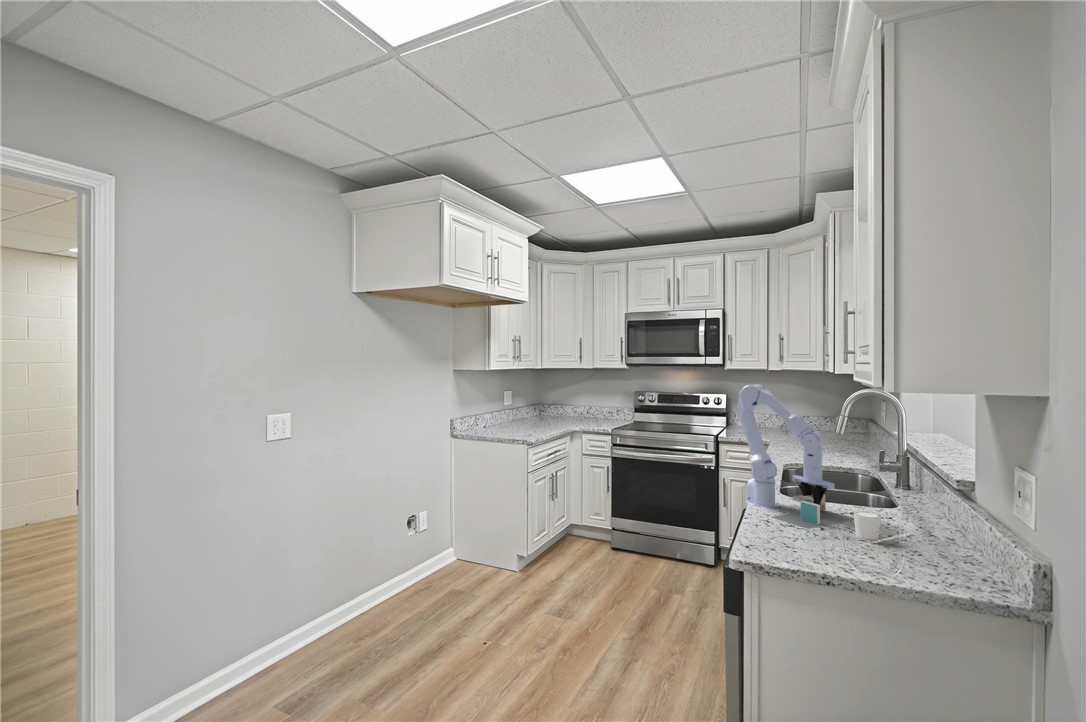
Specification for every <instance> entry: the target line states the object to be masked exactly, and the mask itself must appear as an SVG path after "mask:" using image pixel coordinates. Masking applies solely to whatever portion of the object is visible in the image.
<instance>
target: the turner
mask: <svg viewBox="0 0 1086 722" xmlns="http://www.w3.org/2000/svg"><path fill="white" fill-rule="evenodd" d="M792 501H795V502H798V503H801V501H806V502H810V503H813V502H814V499H813V494H812V495H808V496H803V495H801V494H800V495H794V496H792ZM821 510H826V494H824V495H823V497H822V500H821V503H820V511H821ZM826 511H827V510H826Z"/></svg>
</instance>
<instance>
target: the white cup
mask: <svg viewBox="0 0 1086 722" xmlns="http://www.w3.org/2000/svg"><path fill="white" fill-rule="evenodd" d="M881 517H882V516H881V515H880V514H877V513H873V512H870V511H869V512H867V511H855V512H853V518H854V519H853V520H854V530H855V531H854V532H855V536H856V537H858V538H861V539H866V540H872V542H879V538H880V537H879V536H880V530H881V529H880V528H881V520H882V519H881Z"/></svg>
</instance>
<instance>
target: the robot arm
mask: <svg viewBox="0 0 1086 722" xmlns="http://www.w3.org/2000/svg"><path fill="white" fill-rule="evenodd" d="M738 397H739V398H738V401H737V406H736V412H737V415H738V418H739V421H740V425H741V427H742V430H743V433H744V436H745V440H746V443H747V445H748V448H749V453H750V455H751V459H750V465H751V471H750V472H751V474H750V475H751V476H752V478H750V479H749V480H748V481H747V484H746V501H745V503H747V504H748V503H749V504H750V505H753V506H758V507H761V508H764V509H768V508H773V507H780V506H782V505H781V504H778V503H776V480H775V476H776V475H777V474H778V467H777V465H776V464H775V463H774V462H773V460H772V457H771V456H770V455H769V454H768V452H767V450H766V447H765V444H764V441H763V438H762V435H761V432H760V430H759V425H758V422H757V420H756V417H755V414H754V410H755V409H756V407H757V406H758V404H760V405H765V406H767V407H768V408H770V409H771V410H772V411H773V412H775V413H776V414H777V415H778V416H779V417H780V418H782V419H783V420H784V425H785V427H786V428H787V429H788V430H789V431H790V432H791V433H792V434H793V435H795V436H796V438H798V439H799V440H800V442H801V445H802V446H803V460H802V461H803V465H802V466H803V467H802V468H803V470H802V471H803V475H797V474H796V475H795V474H793V475H791V476H792V477H791V478H792V479H791V481H792V482H797V483H800V484H798V487H799V489H800V492H801V493H802V496H808V495H813V499H814V502H813V503H814V504H818V505H820V503H821V500H822V497H823V495H826V494H825V493H826V492H827V490H829V491H830V490H835V483H833V482H831V481H827V480H824V479H823V452H822V451H823V450H822V449H823V447H822V446H823V444H824V442H825V440H824V435H823V434H822V433H821V432H820V431H819V430H815V429H816V428H815V427H814V426H811V425H810V424H809V423H808V422H806V420H805V417H804V416H803V415H799V414H796V413H795V414H793V413H791V411H790V410H789V409H787V408H786V407H785V406H784V404H783V403H782V402H781V401H780V400H779V399H777V397H776V396H775V395H773V393H772V392H771V391H770V390H769V389H766V388H765V386H763V384H759V383H758V384H757V383H756V384H746V385H745V386H743V387H742V388H741V389H740V391H739V392H738Z"/></svg>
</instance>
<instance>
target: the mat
mask: <svg viewBox="0 0 1086 722" xmlns="http://www.w3.org/2000/svg"><path fill="white" fill-rule="evenodd" d="M770 518H771V519H776V520H779V521H781V522H785V523H788V524H791V525H795V526H798V527H802V528H805V529H809V530H811V529H814V528H818V527H819V528H820V527H822V526H829V525H833V524H839V523H843V522H848V521H852V520H854V516H853V517H852V516H849V515H845V514H840V513H837V512H832V511H830V510H821V511H820V524H818V525H817V524H814V523H811V522H807V521H804V520H801V510H800V511H795V512H790V513H785V514H779V515H773V516H770Z"/></svg>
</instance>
